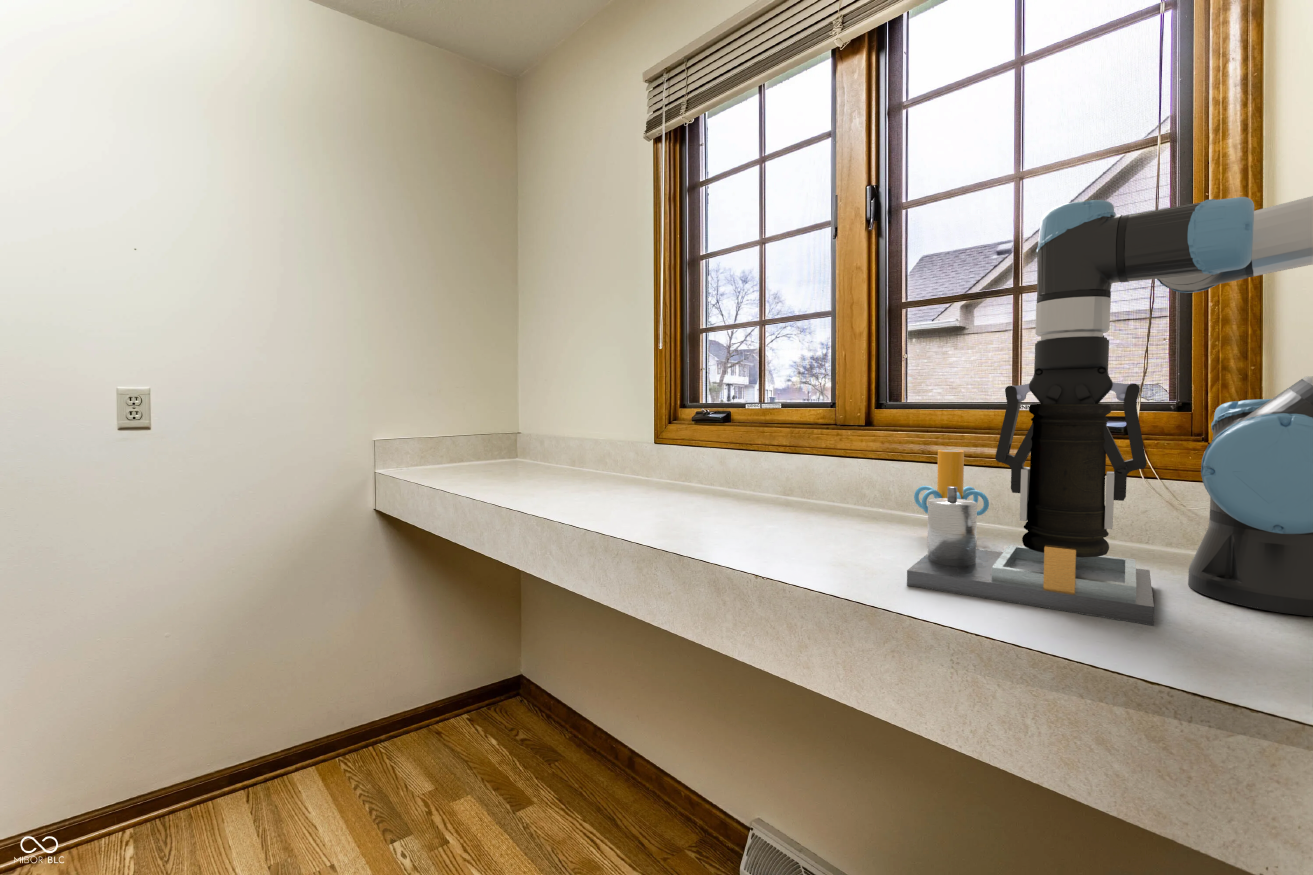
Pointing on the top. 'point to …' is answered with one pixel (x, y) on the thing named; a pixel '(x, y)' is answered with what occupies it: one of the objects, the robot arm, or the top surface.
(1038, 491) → the container
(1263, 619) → the top surface
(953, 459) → the orange cylinder with loops
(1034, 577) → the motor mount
